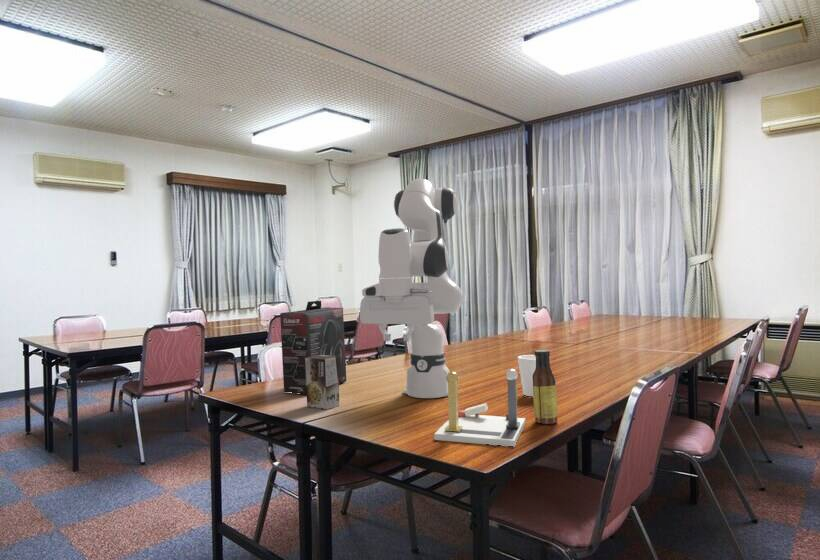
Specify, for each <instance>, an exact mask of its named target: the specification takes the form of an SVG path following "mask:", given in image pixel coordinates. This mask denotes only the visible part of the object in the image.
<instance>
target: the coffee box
mask: <svg viewBox="0 0 820 560" xmlns="http://www.w3.org/2000/svg"><path fill="white" fill-rule="evenodd" d="M305 365H306V389H307V395H306V407H307V406H311V407H310V408H314V407H316V409H321V408H323V410H329V408H330V409H333V408H336V407H339V406H340V384H339V374H338V356H329V355H314V356H310V357H306V358H305Z"/></svg>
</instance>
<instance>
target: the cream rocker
mask: <svg viewBox="0 0 820 560" xmlns="http://www.w3.org/2000/svg"><path fill="white" fill-rule="evenodd" d="M488 410H489V406H488V404H487V403H486V402H485V403H482V404H478V405H474V406H471V407H467V408H465V411H464V412H465V415H466V417H467V416H470V415H475V414H478V413H479V414H481V413H485V412H487V411H488Z"/></svg>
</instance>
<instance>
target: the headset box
mask: <svg viewBox="0 0 820 560" xmlns="http://www.w3.org/2000/svg"><path fill="white" fill-rule="evenodd" d="M314 304H315V305H314ZM279 316H280V334H281V335H280V337H281V341H280V342H281V357H282V378H283V379H282V380H283V393H284V392H292V393H300V394H299V395H301V394H307V389H306V365H305V358H306V357H310V356H314V355H329V356H338V374H339V385H340V384H344V383H345V382H347V366H346V365H347V363H346V362H347V361H346V344H345V342H346V341H345V325H344V324H345V323H344V322H345V321H344V308H343V307H331V306H330V307H329V306H327V307H322V300H312V301H307V304H306V307H305V310H304V309H301V310H296V311H295V310H294V311H287V312H280V313H279Z"/></svg>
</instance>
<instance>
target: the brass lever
mask: <svg viewBox="0 0 820 560" xmlns="http://www.w3.org/2000/svg"><path fill="white" fill-rule="evenodd" d="M446 379H447V382H448V396H447V400H448V402H447V405H448V407H447V408H448V411H447V412H448V420H449V425H447V426H446V428H445V430H446V431H458V432H460V431H461V430H462V429H463V426H458V410H459V398H458V397H459V396H458V395H459V393H458V390H459V389H458V385H459V384H458V382H459V379H460V377H459V374H458V373H457V372H456V371H450V372H449V373H448V374H447V376H446Z"/></svg>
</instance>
